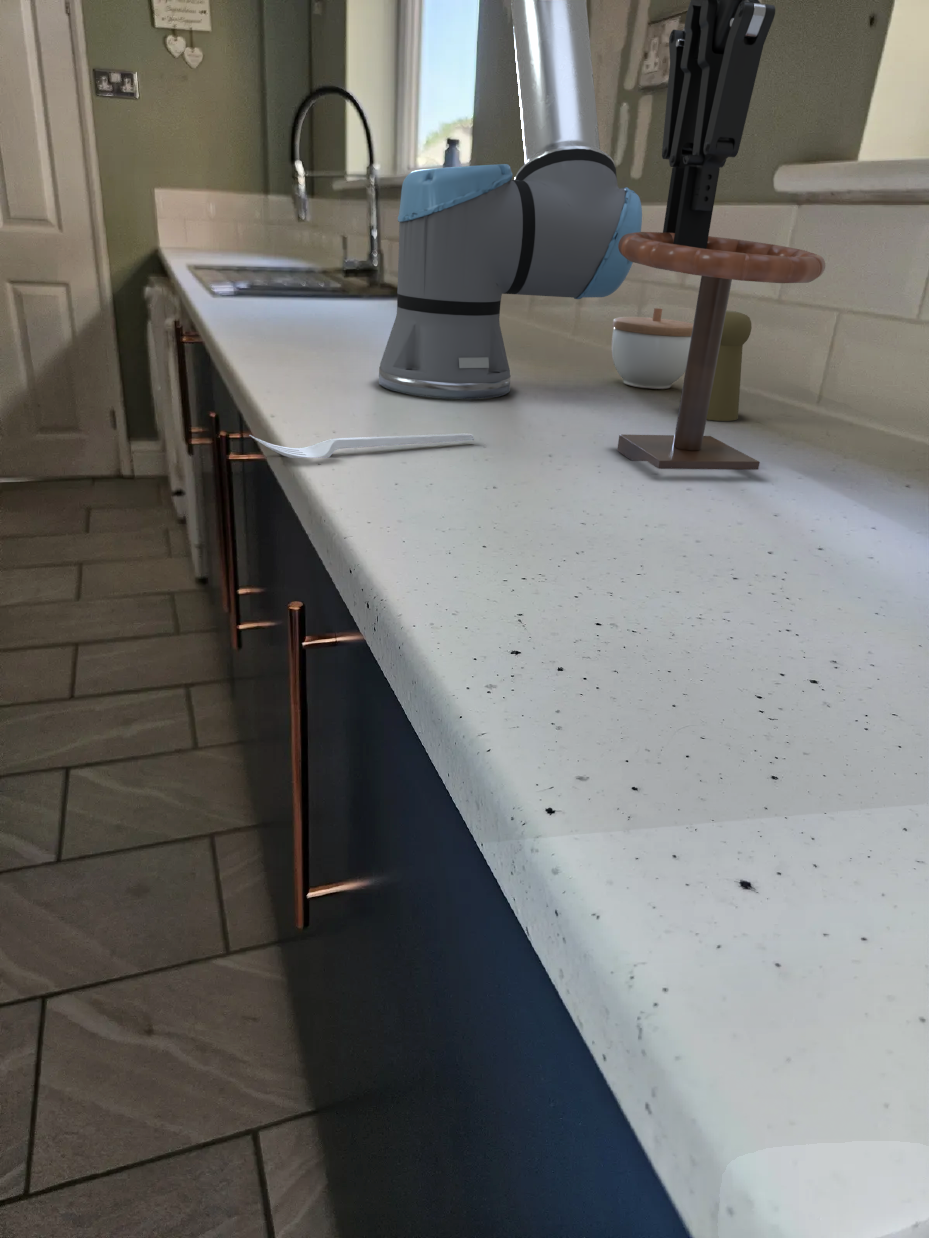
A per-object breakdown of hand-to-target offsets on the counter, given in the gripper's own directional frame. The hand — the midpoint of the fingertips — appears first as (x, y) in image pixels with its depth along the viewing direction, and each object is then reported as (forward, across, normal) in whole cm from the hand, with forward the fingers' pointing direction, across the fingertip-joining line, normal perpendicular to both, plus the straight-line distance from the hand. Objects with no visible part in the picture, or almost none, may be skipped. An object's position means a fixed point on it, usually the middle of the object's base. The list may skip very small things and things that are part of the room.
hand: (682, 253), depth 74 cm
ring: (0, +7, 0) cm, 7 cm away
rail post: (+17, +6, 0) cm, 18 cm away
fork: (+17, +4, -27) cm, 32 cm away
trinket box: (+17, -32, +13) cm, 39 cm away
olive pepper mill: (+17, -14, +13) cm, 26 cm away
